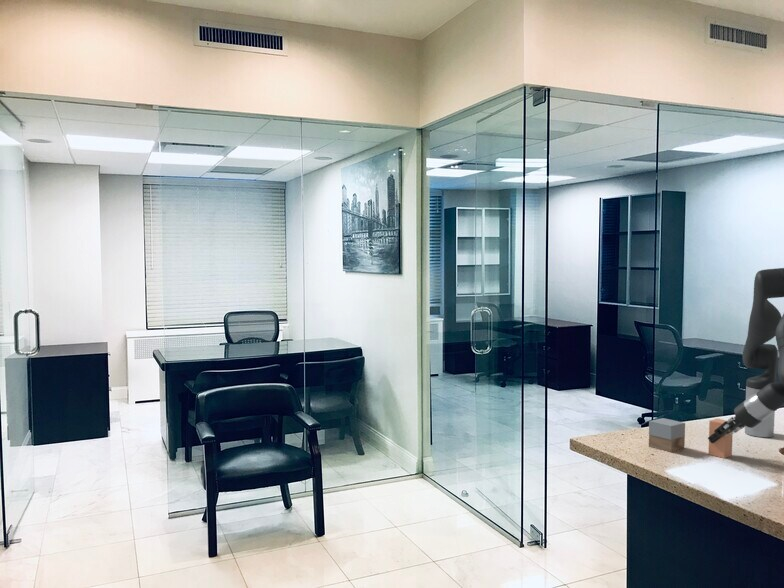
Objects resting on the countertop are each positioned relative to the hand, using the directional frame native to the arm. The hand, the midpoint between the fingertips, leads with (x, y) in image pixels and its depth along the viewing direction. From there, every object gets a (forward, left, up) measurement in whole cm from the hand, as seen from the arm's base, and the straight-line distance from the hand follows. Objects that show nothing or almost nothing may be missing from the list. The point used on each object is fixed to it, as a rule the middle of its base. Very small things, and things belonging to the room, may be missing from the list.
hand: (714, 439), depth 204 cm
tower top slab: (+1, -14, 0) cm, 14 cm away
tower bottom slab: (+1, -14, -5) cm, 15 cm away
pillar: (+1, +2, -5) cm, 5 cm away
